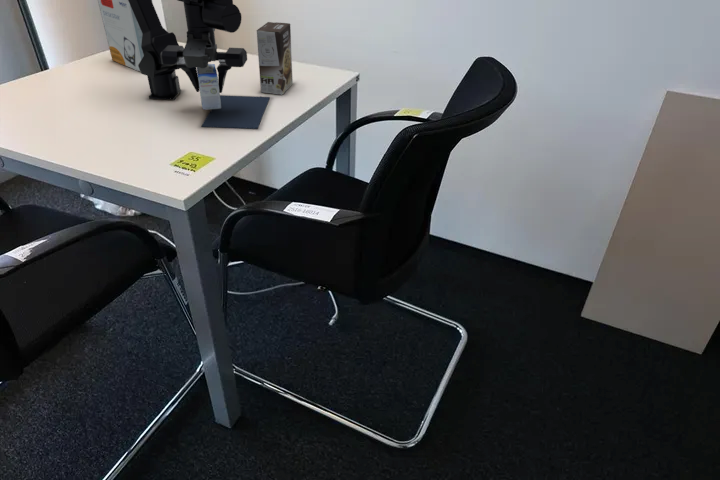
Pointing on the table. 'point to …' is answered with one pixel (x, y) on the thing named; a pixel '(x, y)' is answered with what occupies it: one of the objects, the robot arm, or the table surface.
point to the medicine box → (209, 87)
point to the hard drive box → (122, 32)
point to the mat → (237, 112)
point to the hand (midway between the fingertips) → (209, 92)
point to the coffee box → (275, 57)
